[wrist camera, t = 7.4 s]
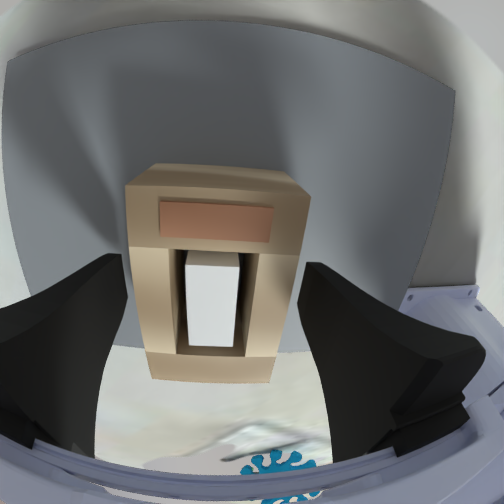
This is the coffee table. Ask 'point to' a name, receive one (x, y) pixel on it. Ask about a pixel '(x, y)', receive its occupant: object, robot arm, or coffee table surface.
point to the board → (223, 153)
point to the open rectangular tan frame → (214, 239)
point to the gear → (276, 468)
